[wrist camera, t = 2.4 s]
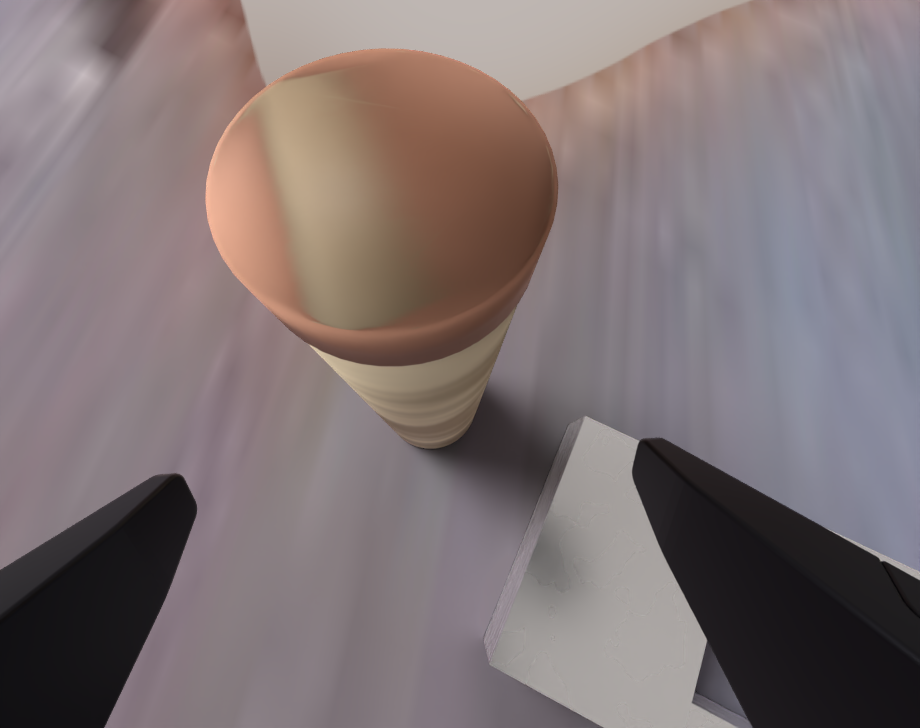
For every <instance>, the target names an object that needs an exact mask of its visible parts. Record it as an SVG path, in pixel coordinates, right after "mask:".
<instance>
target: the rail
mask: <svg viewBox="0 0 920 728" xmlns="http://www.w3.org/2000/svg"><path fill="white" fill-rule="evenodd" d="M638 443H639V441H638V440H636V439H634V438H632V437H630V436H627V435H625V434H623V433H621V432H619V431H617V430H615V429H612V428H610V427H608V426H606V425H604V424H602V423H600V422H597V421H595V420H593V419H591V418H589V417H587V416H584V417H582V418H580V419H578V420H576V421H574V422H572V423H570V424H568V427H567V429H566V432H565V434H564V437H563V439H562V442H561V444H560V447H559V450H558V452H557V455H556V457H555V460H554V462H553V465H552V467H551V470H550V472H549V475H548V477H547V480H546V482H545V485H544V487H543V490H542V492H541V495H540V497H539V500H538V502H537V505H536V508H535V510H534V513H533V515H532V518H531V520H530V523H529V525H528V528H527V530H526V533H525V535H524V538H523V540H522V543H521V545H520V548H519V550H518V553H517V555H516V558H515V560H514V563H513V566H512V568H511V571H510V573H509V576H508V578H507V581H506V583H505V586H504V588H503V591H502V593H501V596H500V598H499V601H498V603H497V606H496V608H495V611H494V613H493V616H492V619H491V621H490V624H489V626H488V629H487V631H486V634H485V636H484V643H485V648H486V652H487V656H488V661H489V665H491V666H493V667H494V668H496V669H498V670H500V671H502V672H503V673H505V674H507V675H509V676H511V677H513V678H514V679H516V680H518V681H520V682H522V683H523V684H525V685H527V686H529V687H531V688H533V689H534V690H536V691H538V692H540V693H542V694H543V695H545V696H547V697H549V698H551V699H553V700H554V701H556V702H558V703H560V704H562V705H563V706H565V707H567V708H569V709H571V710H573V711H574V712H576V713H578V714H580V715H582V716H583V717H585V718H587V719H589V720H591V721H593V722H594V723H596V724H598V725H600V726H602V727H603V728H752V726H751V724H750V722H749V720H748V719H746V718H744V717H742V716H740V715H738V714H736V713H734V712H732V711H730V710H729V709H727V708H725V707H723V706H721V705H719V704H717V703H715V702H713V701H712V700H710V699H708V698H706V697H704V696H702V695H700V694H698V693H696V692H695V688H696V683H697V679H698V675H699V671H700V667H701V663H702V659H703V655H704V651H705V647H706V643H707V639H706V637H705V635H704V633H703V631H702V629H701V627H700V625H699V623H698V622H697V620H696V618H695V616H694V614H693V612H692V610H691V608H690V606H689V604H688V602H687V600H686V598H685V596H684V594H683V593H682V591H681V589H680V587H679V585H678V583H677V581H676V579H675V577H674V575H673V573H672V571H671V569H670V567H669V566H668V564H667V562H666V559H665V557H664V555H663V553H662V551H661V549H660V547H659V544H658V542H657V540H656V537H655V534H654V532H653V529H652V527H651V524H650V522H649V519H648V517H647V514H646V512H645V509H644V507H643V504H642V502H641V499H640V496H639V494H638V491H637V489H636V486H635V484H634V481H633V477H632V467H633V462H634V458H635V454H636V450H637V445H638ZM824 528H825V527H824ZM826 529H827V528H826ZM828 530H829V529H828ZM830 531H831V530H830ZM832 532H833V531H832ZM833 533H835V532H833ZM835 534H837V533H835ZM837 535H839V536H841V537H842V538H844V539H846V540H848V541H850V542H852V543H853V544H855V545H857V546H859V547H861V548H862V549H864V550H866V551H868V552H870V553H871V554H873V555H875V556H877V557H878V558H879V559H880V561H886V562H888V563H890V564H892V565H893V566H895V567H897V568H899V569H901V570H902V571H904V572H906V573H908V574H910V575H911V576H913V577H915V578H917V579H919V580H920V572H919V571H917V570H915V569H912V568H910V567H908V566H906V565H904V564H902V563H900V562H897V561H895V560H893V559H891V558H889V557H887V556H885V555H882V554H880V553H878V552H876V551H874V550H872V549H870V548H867V547H865V546H863V545H861V544H859V543H857V542H855V541H852V540H850V539H848V538H846V537H844V536H842V535H840V534H837Z"/></svg>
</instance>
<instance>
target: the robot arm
mask: <svg viewBox="0 0 920 728" xmlns="http://www.w3.org/2000/svg"><path fill="white" fill-rule="evenodd" d="M632 477H633V481H634V484H635V486H636V489H637V491H638V494H639V496H640V499H641V502H642V504H643V507H644V509H645V512H646V514H647V517H648V519H649V522H650V524H651V527H652V529H653V532H654V534H655V537H656V540H657V542H658V544H659V547H660V549H661V551H662V553H663V555H664V557H665V559H666V562H667V564H668V566H669V567H670V569H671V571H672V573H673V575H674V577H675V579H676V581H677V583H678V585H679V587H680V589H681V591H682V593H683V594H684V596H685V598H686V600H687V602H688V604H689V606H690V608H691V610H692V612H693V614H694V616H695V618H696V620H697V622H698V623H699V625H700V627H701V629H702V631H703V633H704V635H705V637H706V639H707V641H708V643H709V645H710V647H711V649H712V650H713V652H714V654H715V656H716V658H717V660H718V662H719V664H720V666H721V668H722V670H723V672H724V674H725V676H726V677H727V679H728V681H729V683H730V685H731V687H732V689H733V691H734V693H735V695H736V697H737V699H738V701H739V703H740V705H741V706H742V708H743V710H744V712H745V714H746V716H747V718H748V720H749V722H750V724H751V726H752V728H920V580H919V579H917V578H915V577H913V576H911V575H910V574H908V573H906V572H904V571H902V570H901V569H899V568H897V567H895V566H893V565H892V564H890V563H888V562H886V561H880V559H879V558H878V557H877V556H875V555H873V554H871V553H870V552H868V551H866V550H864V549H862V548H861V547H859V546H857V545H855V544H853V543H852V542H850V541H848V540H846V539H844V538H842V537H841V536H839V535H837V534H835V533H833V532H832V531H830V530H828V529H826V528H824V527H823V526H821V525H819V524H817V523H815V522H814V521H812V520H810V519H808V518H806V517H804V516H803V515H801V514H799V513H797V512H795V511H794V510H792V509H790V508H788V507H786V506H785V505H783V504H781V503H779V502H777V501H776V500H774V499H772V498H770V497H768V496H766V495H765V494H763V493H761V492H759V491H757V490H756V489H754V488H752V487H750V486H748V485H747V484H745V483H743V482H741V481H739V480H738V479H736V478H734V477H732V476H730V475H728V474H727V473H725V472H723V471H721V470H719V469H718V468H716V467H714V466H712V465H710V464H709V463H707V462H705V461H703V460H701V459H700V458H698V457H696V456H694V455H692V454H690V453H689V452H687V451H685V450H683V449H681V448H680V447H678V446H676V445H674V444H672V443H671V442H669V441H667V440H665V439H663V438H645V439H642V440H640V441H639V443H638V445H637V450H636V454H635V458H634V462H633V467H632ZM196 514H197V504H196V501H195V499H194V497H193V495H192V493H191V491H190V489H189V487H188V485H187V483H186V481H185V479H184V477H183V476H181V475H180V474H177V473H174V474H160V475H155V476H153V477H151V478H149V479H148V480H146V481H144V482H143V483H141V484H140V485H138V486H136V487H135V488H133V489H131V490H130V491H128V492H127V493H125V494H123V495H122V496H120V497H118V498H117V499H115V500H114V501H112V502H110V503H109V504H107V505H105V506H104V507H102V508H101V509H99V510H97V511H96V512H94V513H92V514H91V515H89V516H88V517H86V518H84V519H83V520H81V521H79V522H78V523H76V524H74V525H73V526H71V527H70V528H68V529H66V530H65V531H63V532H61V533H60V534H58V535H57V536H55V537H53V538H52V539H50V540H48V541H47V542H45V543H44V544H42V545H40V546H39V547H37V548H35V549H34V550H32V551H31V552H29V553H27V554H26V555H24V556H22V557H21V558H19V559H17V560H16V561H14V562H13V563H11V564H9V565H8V566H6V567H4V568H3V569H1V570H0V728H104V727H105V725H106V723H107V721H108V719H109V717H110V715H111V713H112V711H113V708H114V706H115V704H116V702H117V700H118V698H119V696H120V694H121V692H122V690H123V687H124V685H125V683H126V681H127V679H128V677H129V675H130V673H131V671H132V668H133V666H134V664H135V662H136V660H137V658H138V656H139V654H140V652H141V650H142V647H143V645H144V643H145V641H146V639H147V637H148V635H149V633H150V631H151V629H152V626H153V624H154V622H155V620H156V618H157V616H158V614H159V612H160V610H161V607H162V605H163V603H164V601H165V598H166V596H167V594H168V591H169V589H170V586H171V584H172V581H173V578H174V575H175V573H176V570H177V567H178V564H179V562H180V559H181V556H182V553H183V551H184V548H185V545H186V542H187V540H188V537H189V534H190V531H191V529H192V526H193V523H194V520H195V518H196Z"/></svg>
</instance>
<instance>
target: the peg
mask: <svg viewBox="0 0 920 728" xmlns="http://www.w3.org/2000/svg"><path fill="white" fill-rule="evenodd" d="M557 198H558V178H557V168H556V164H555V160H554V156H553V152H552V149H551V147H550V144H549V142H548V140H547V137H546V135H545V133H544V131H543V129H542V128H541V126H540V125H539V123H538V121H537V120H536V118H535V117H534V115H533V114H532V113H531V112H530V110H529V109H528V108H527V107H526V106H525V104H524V103H523V102H522V101H521V100H520V99H519V98H518V97H517V96H515V95H514V94H513V93H512V92H511V91H510V90H509V89H508V88H506V87H505V86H503V85H502V84H501V83H499V82H498V81H497V80H495V79H494V78H492V77H490V76H489V75H487V74H485V73H483V72H482V71H480V70H478V69H476V68H474V67H471V66H469V65H467V64H464V63H462V62H460V61H457V60H454V59H451V58H447V57H444V56H441V55H437V54H432V53H427V52H423V51H415V50H406V49H370V50H359V51H353V52H347V53H342V54H337V55H334V56H330V57H326V58H322V59H320V60H317V61H314V62H312V63H309V64H306V65H304V66H301V67H300V68H297V69H295V70H293V71H291V72H289V73H287V74H285V75H284V76H282V77H280V78H279V79H277V80H276V81H274V82H273V83H271V84H269V85H268V86H267V87H265V88H264V89H263V90H262V91H260V92H259V93H258V94H257V95H255V96H254V97H253V98H252V99H251V100H250V101H249V102H248V103H247V104H246V105H245V106H244V107H243V108H242V109H241V110H240V111H239V112H238V114H237V115H236V116H235V118H234V119H233V120H232V121H231V123H230V124H229V125H228V127H227V128H226V130H225V132H224V134H223V135H222V137H221V139H220V141H219V143H218V144H217V147H216V150H215V152H214V155H213V157H212V160H211V163H210V167H209V172H208V177H207V183H206V208H207V217H208V222H209V226H210V229H211V233H212V236H213V239H214V241H215V243H216V245H217V248H218V250H219V252H220V254H221V256H222V258H223V259H224V261H225V262H226V264H227V265H228V266H229V268H230V269H231V271H232V272H233V274H234V275H235V276H236V277H237V278H238V279H239V280H240V281H241V282H242V283H243V284H244V285H245V286H246V287H247V289H248V290H249V291H250V292H251V293H252V294H253V295H254V296H255V297H257V298H258V299H259V300H260V301H261V302H262V303H263V304H264V305H265V306H266V307H267V308H268V309H269V310H270V311H271V312H272V313H273V314H274V315H275V316H276V317H277V318H278V319H279V320H280V321H281V322H282V323H283V324H284V325H285V326H286V327H287V328H288V329H289V330H290V331H292V332H293V333H294V334H296V335H297V336H298V337H299V338H301V339H302V340H303V341H305V342H306V343H308V344H309V345H310V346H311V347H312V348H313V349H314V350H315V351H316V352H317V353H318V354H319V355H320V356H321V357H322V358H323V359H324V360H325V361H326V362H327V363H328V364H329V365H330V366H331V367H332V368H333V369H334V370H335V371H336V372H337V373H338V374H339V375H340V376H341V377H342V378H343V379H344V380H345V381H346V382H347V383H348V384H349V385H350V386H351V388H352V389H353V390H354V391H355V392H356V393H357V394H358V395H359V396H360V397H361V398H362V399H363V400H364V401H365V402H366V403H367V404H368V405H369V406H370V407H371V408H372V409H373V410H374V411H375V412H376V413H377V414H378V415H379V416H380V417H381V418H382V419H383V420H384V421H385V422H386V423H387V424H388V425H389V426H390V427H391V428H392V429H393V430H394V431H395V432H396V433H397V434H398V435H399V436H400V437H401V438H402V439H403V440H405V441H406V442H408V443H410V444H412V445H414V446H417V447H420V448H426V449H435V448H441V447H445V446H447V445H450V444H452V443H454V442H455V441H457V440H458V439H459V438H461V437H462V436H463V435H464V434H465V433H466V431H467V430H468V429H469V427H470V425H471V423H472V421H473V419H474V416H475V413H476V411H477V408H478V406H479V403H480V400H481V398H482V395H483V393H484V390H485V387H486V385H487V382H488V380H489V377H490V374H491V372H492V369H493V367H494V364H495V361H496V359H497V356H498V354H499V351H500V348H501V346H502V343H503V341H504V338H505V335H506V333H507V330H508V328H509V325H510V322H511V320H512V317H513V315H514V312H515V309H516V307H517V304H518V303H519V301H520V299H521V298H522V296H523V294H524V292H525V291H526V289H527V287H528V284H529V282H530V279H531V277H532V274H533V272H534V269H535V267H536V264H537V262H538V259H539V257H540V254H541V252H542V250H543V247H544V245H545V242H546V239H547V237H548V234H549V232H550V229H551V227H552V224H553V221H554V216H555V212H556V207H557Z"/></svg>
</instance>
